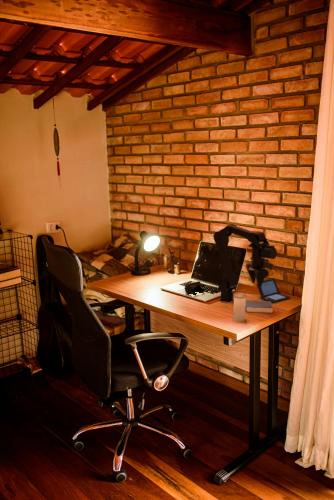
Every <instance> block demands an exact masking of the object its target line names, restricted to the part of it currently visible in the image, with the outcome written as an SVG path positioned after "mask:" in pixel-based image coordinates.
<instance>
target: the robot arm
mask: <svg viewBox="0 0 334 500" xmlns="http://www.w3.org/2000/svg"><path fill="white" fill-rule="evenodd" d="M232 235H235V236H238V237H241V238H244V239H246V240H247V241H248V242H249V243H250V244H248V247H249V248H251V257H249V259H250V260H251V262H247V263H246V264H245V269H246V271H247V273H248V276H249V278H250V280H251V283H252V284H255V283H256V285H257V284H258V287H259V288H261V286H262V283H263V281H265V279H266V278H267V277H269V276H270V272H269V270H271V271H272V270H273V267H274V266H275V264H274V263H272V262H270V261H269V259H270V260H275V259H276V258H277V256H278V251H277V249H276V247H275V245H274V244H273V245H271V244H270V243H269V241H268V238H267V237H266V235H265V233H264V232H263V231H259V230H249V229H246V228H244V227H240V226H237V225H235V224H228V225H226V226H225V227H223V228H221V229H219V230H218V231H215V232H214V233H213V235H212V236H213V241H214V243H215V245H216V246H217V247H218V252H219V257H220V262H221V267H222V271H223V274H222V277H221V283H220V284H219V285H218V286H217V288H218V291H219V292H220V298H219V302H223V303H224V302H226V303H232V302H233V301H234V294H235V292H234V290H236V288H237V286H238V284H239V279H238V274H237V273H234V272H233V268H232V262H231V259H230V253H229V246H228V245H229V242H230V237H231V236H232ZM268 269H269V270H268ZM258 287H257V288H258Z"/></svg>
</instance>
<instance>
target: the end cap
mask: <svg viewBox="0 0 334 500" xmlns="http://www.w3.org/2000/svg"><path fill="white" fill-rule="evenodd" d="M205 286H206V284H205V283H201V281H195V282H191V283H187V284H185V286H184V292H185V293H186V294H187V295H188V294H193V295H196V294H197V293H195V292H199V293H205V291H206V289H205ZM202 287H203V288H202Z"/></svg>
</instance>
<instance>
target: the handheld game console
mask: <svg viewBox="0 0 334 500" xmlns="http://www.w3.org/2000/svg"><path fill="white" fill-rule="evenodd" d="M256 287H257V290H258V292H259V295H260V301H271V304H276V302H277V303H280V302H284V301H287V300H286V299H288V300H290V299H291V296H290V295H286V294H282V293H281V292H280V290H279V288H278V284H277V281H276V279H274V278H271V279H266V280H263V283H262V286H261V288H259V287H258V284H257V283H256ZM289 298H290V299H289ZM283 300H284V301H283Z"/></svg>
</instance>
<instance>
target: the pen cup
mask: <svg viewBox="0 0 334 500" xmlns="http://www.w3.org/2000/svg"><path fill="white" fill-rule="evenodd" d="M246 300H247V294H246V293H243V292H236V293H235V292H234V299H233V310H232V311H233V314H232V321H234V322H237V323H243V322H245V320H246V312H245V307H246Z"/></svg>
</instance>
